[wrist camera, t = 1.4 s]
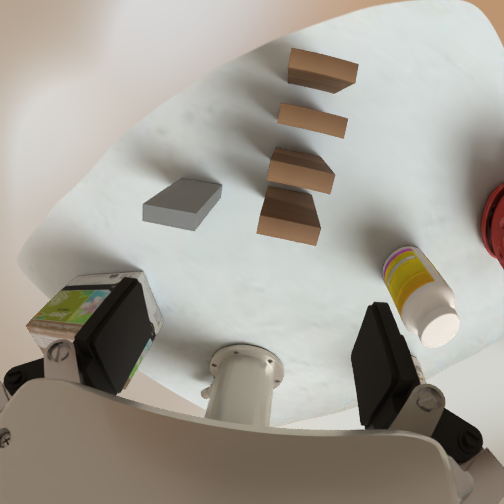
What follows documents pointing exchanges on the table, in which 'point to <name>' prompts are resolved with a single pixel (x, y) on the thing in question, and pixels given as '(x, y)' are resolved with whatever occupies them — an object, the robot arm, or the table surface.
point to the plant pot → (494, 224)
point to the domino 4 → (289, 216)
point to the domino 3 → (300, 170)
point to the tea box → (86, 309)
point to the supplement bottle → (421, 296)
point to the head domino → (182, 204)
